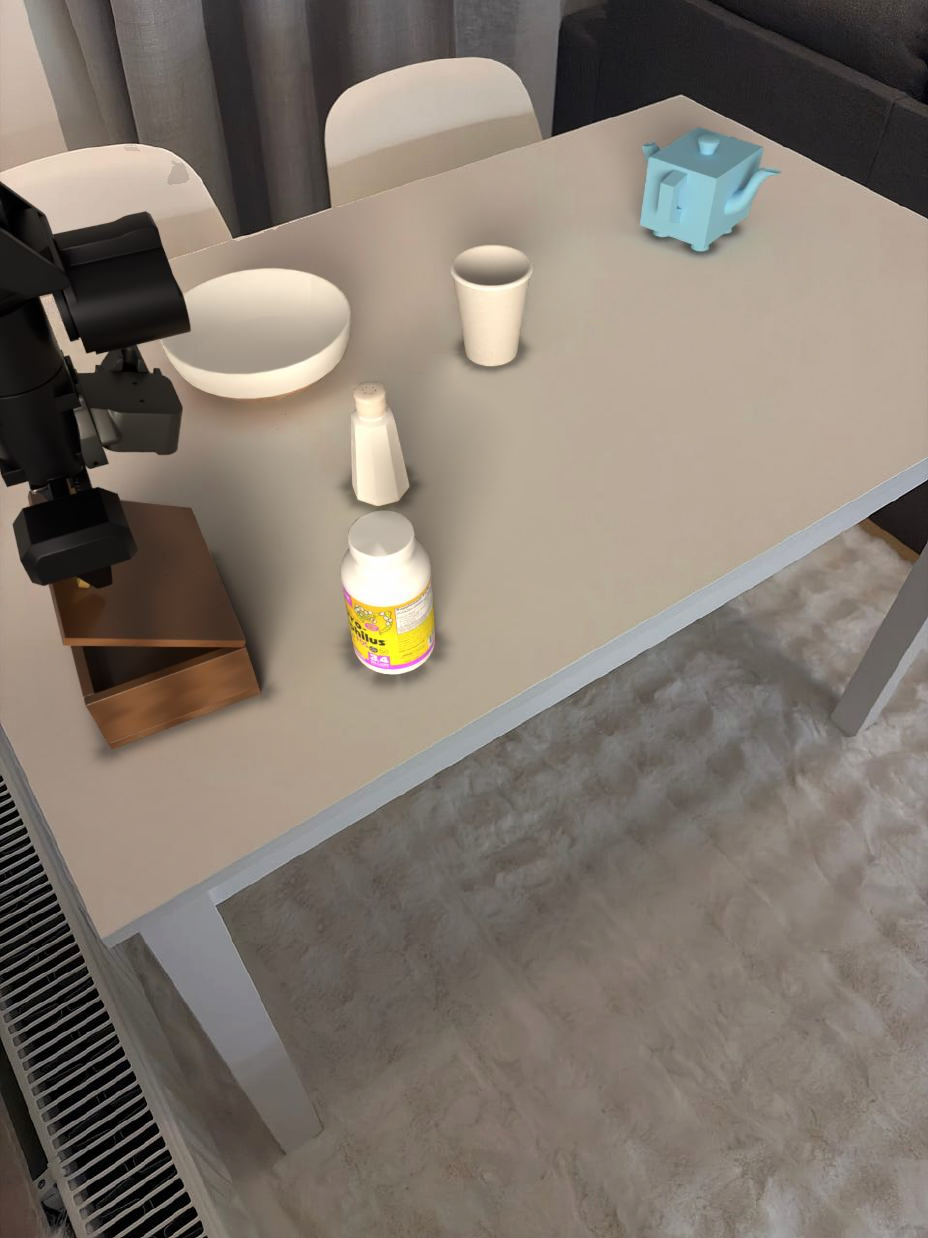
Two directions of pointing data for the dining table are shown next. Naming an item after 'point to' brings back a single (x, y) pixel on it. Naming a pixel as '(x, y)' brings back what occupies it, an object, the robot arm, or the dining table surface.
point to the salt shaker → (376, 448)
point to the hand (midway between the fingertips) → (96, 556)
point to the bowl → (261, 333)
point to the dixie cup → (491, 300)
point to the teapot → (700, 186)
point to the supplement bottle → (388, 593)
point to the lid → (151, 589)
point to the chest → (159, 685)
